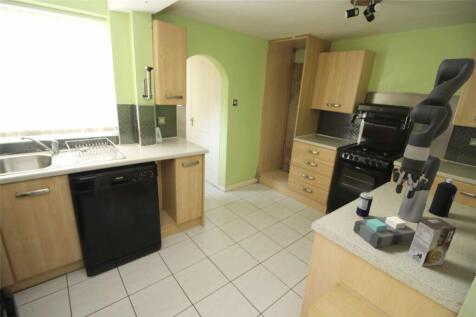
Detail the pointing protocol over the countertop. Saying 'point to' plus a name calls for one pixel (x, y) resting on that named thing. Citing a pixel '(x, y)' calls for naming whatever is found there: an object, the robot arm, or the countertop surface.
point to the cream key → (395, 222)
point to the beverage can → (364, 205)
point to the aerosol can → (443, 198)
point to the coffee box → (431, 241)
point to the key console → (383, 234)
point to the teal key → (376, 225)
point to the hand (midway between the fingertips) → (403, 195)
